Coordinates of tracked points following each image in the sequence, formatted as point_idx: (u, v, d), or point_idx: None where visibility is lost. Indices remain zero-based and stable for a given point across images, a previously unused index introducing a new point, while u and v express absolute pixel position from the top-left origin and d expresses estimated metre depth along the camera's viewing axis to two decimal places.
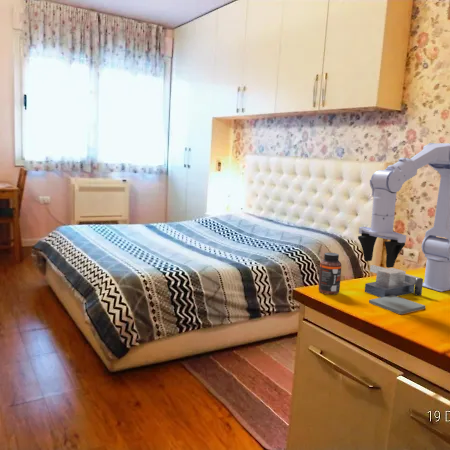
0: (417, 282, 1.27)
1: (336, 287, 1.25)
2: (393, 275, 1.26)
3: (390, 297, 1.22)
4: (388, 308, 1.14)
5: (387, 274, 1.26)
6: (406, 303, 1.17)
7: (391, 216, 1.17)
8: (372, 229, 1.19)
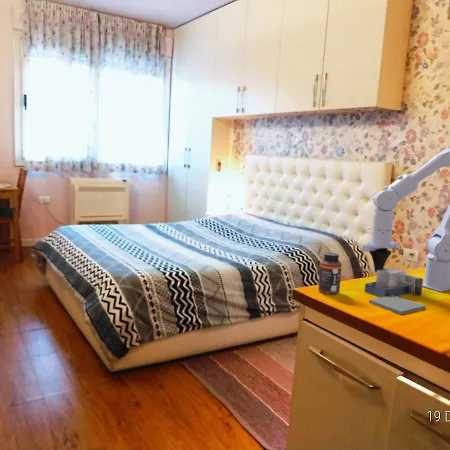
0: (417, 282, 1.27)
1: (336, 287, 1.25)
2: (393, 275, 1.26)
3: (390, 297, 1.22)
4: (388, 308, 1.14)
5: (387, 274, 1.26)
6: (406, 303, 1.17)
7: (376, 230, 1.36)
8: None
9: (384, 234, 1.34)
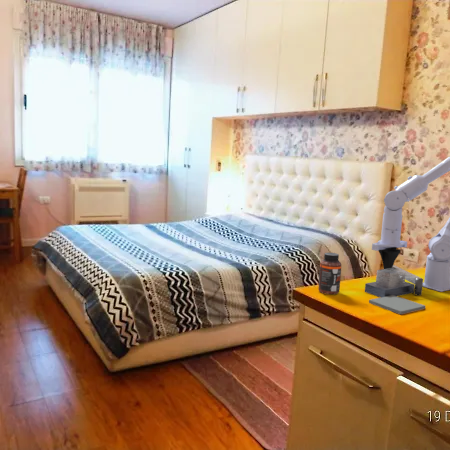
0: (416, 282, 1.27)
1: (336, 287, 1.25)
2: (393, 275, 1.26)
3: (390, 297, 1.22)
4: (388, 308, 1.14)
5: (387, 274, 1.26)
6: (406, 303, 1.17)
7: (385, 229, 1.38)
8: None
9: (393, 233, 1.37)
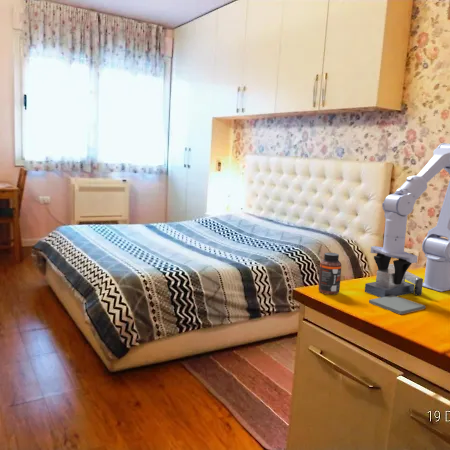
0: (416, 282, 1.27)
1: (336, 287, 1.25)
2: (393, 275, 1.26)
3: (390, 297, 1.22)
4: (388, 308, 1.14)
5: (387, 274, 1.26)
6: (406, 303, 1.17)
7: (403, 237, 1.25)
8: (385, 249, 1.27)
9: None
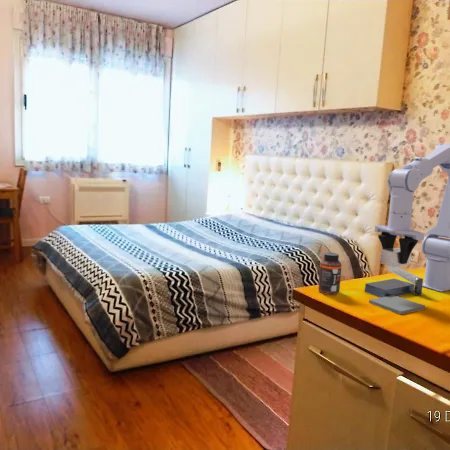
0: (416, 282, 1.27)
1: (336, 287, 1.25)
2: (398, 254, 1.20)
3: (390, 297, 1.22)
4: (388, 308, 1.14)
5: (392, 253, 1.20)
6: (406, 303, 1.17)
7: (409, 214, 1.19)
8: (390, 227, 1.21)
9: None
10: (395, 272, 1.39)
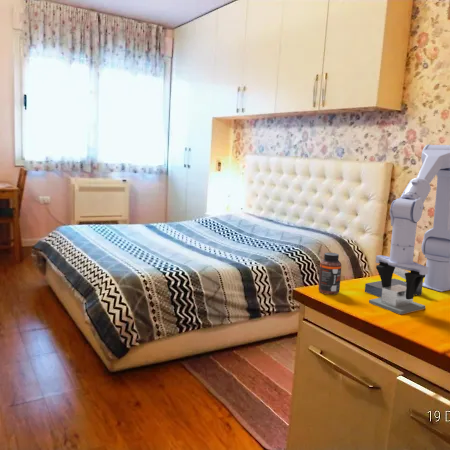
0: None
1: (336, 287, 1.25)
2: (400, 294, 1.14)
3: None
4: (388, 308, 1.14)
5: (394, 292, 1.14)
6: None
7: (412, 246, 1.13)
8: (391, 259, 1.15)
9: None
10: (395, 272, 1.39)
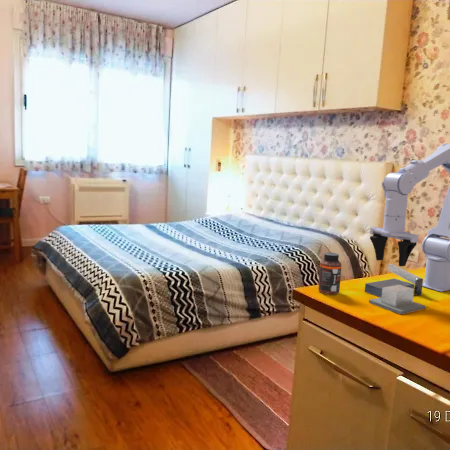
0: (416, 282, 1.27)
1: (336, 287, 1.25)
2: (400, 294, 1.14)
3: None
4: (388, 308, 1.14)
5: (394, 292, 1.14)
6: None
7: (403, 217, 1.22)
8: (385, 230, 1.24)
9: None
10: (395, 272, 1.39)
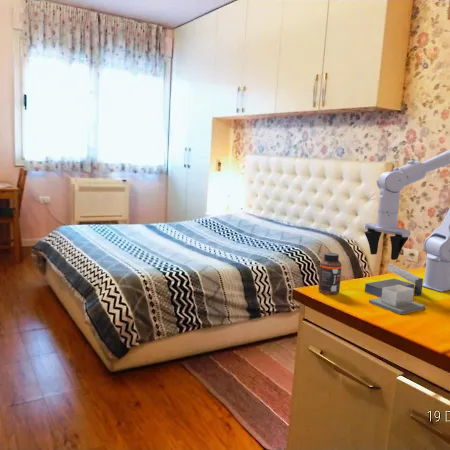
0: (416, 282, 1.27)
1: (336, 287, 1.25)
2: (400, 294, 1.14)
3: None
4: (388, 308, 1.14)
5: (394, 292, 1.14)
6: None
7: (395, 213, 1.30)
8: (378, 225, 1.32)
9: None
10: (395, 272, 1.39)
